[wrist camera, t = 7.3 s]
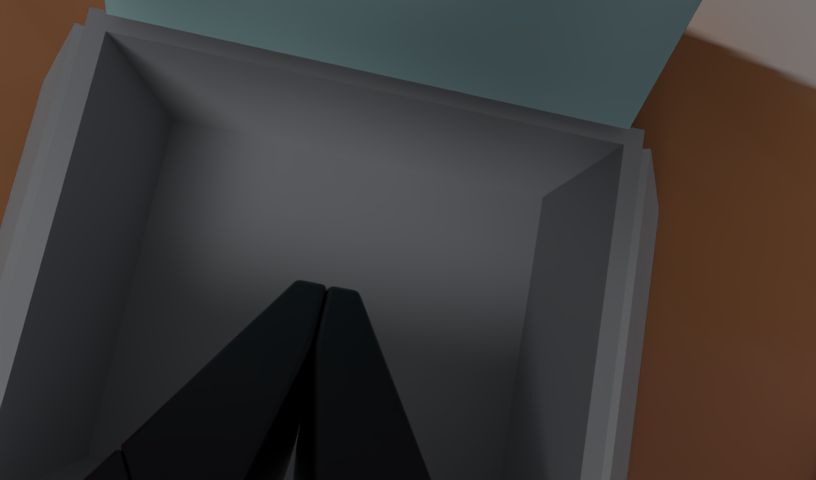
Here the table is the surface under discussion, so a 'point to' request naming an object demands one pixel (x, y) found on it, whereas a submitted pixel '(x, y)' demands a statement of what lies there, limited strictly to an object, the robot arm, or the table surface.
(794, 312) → the table surface
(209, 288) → the grey open storage bin
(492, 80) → the flap
